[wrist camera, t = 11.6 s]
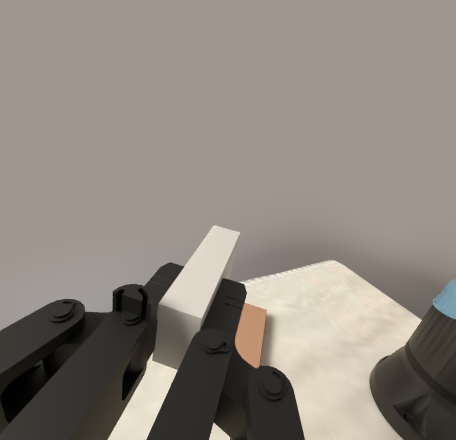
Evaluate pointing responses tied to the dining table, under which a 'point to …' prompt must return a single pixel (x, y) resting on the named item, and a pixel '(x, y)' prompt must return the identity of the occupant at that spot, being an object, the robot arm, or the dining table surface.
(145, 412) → the dining table surface
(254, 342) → the standing tile
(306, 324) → the dining table surface
